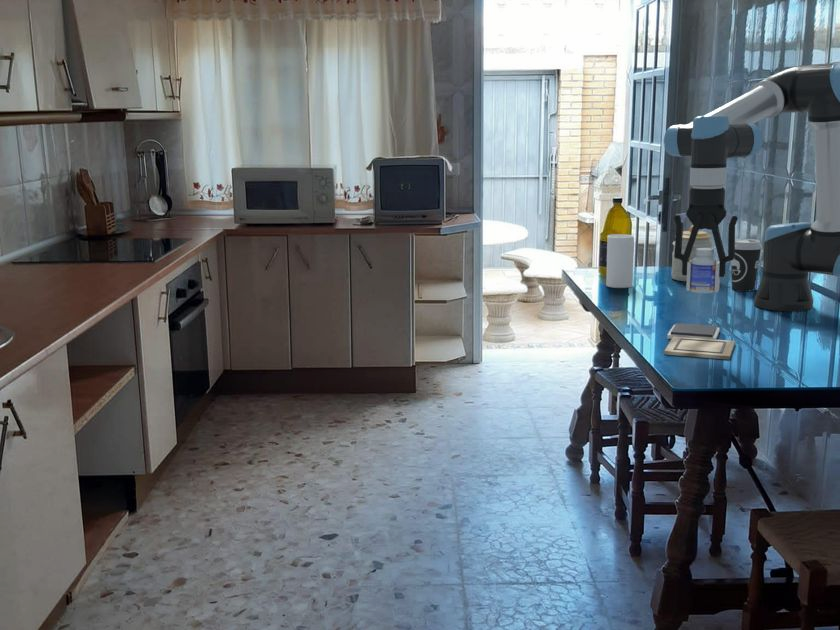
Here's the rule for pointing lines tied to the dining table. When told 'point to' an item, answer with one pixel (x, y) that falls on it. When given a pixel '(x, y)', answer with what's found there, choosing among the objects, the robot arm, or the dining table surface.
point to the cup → (620, 260)
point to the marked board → (700, 347)
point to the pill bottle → (703, 271)
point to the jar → (700, 242)
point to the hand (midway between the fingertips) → (702, 290)
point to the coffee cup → (745, 264)
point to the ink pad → (693, 331)
